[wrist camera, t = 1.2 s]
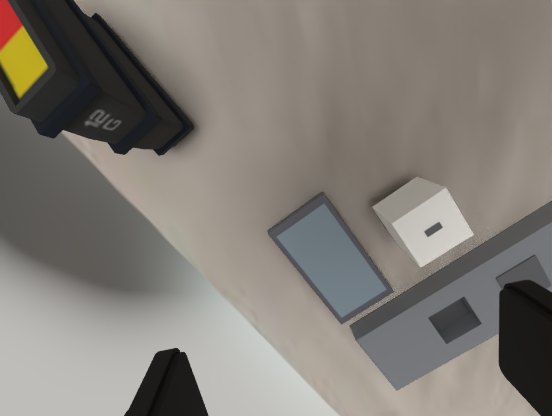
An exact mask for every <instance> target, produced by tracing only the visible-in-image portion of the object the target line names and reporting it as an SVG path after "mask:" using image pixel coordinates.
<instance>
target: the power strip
mask: <svg viewBox="0 0 552 416" xmlns="http://www.w3.org/2000/svg"><path fill="white" fill-rule="evenodd" d="M521 280H532V281H534V282H536V283H537V284H539V285H541V286H542V287H544V288H545V289H547V290H549V291H550V292H552V201H551V202H549V203H548V204H546V205H545V206H543V207H541V208H540V209H538V210H537V211H535V212H533V213H532V214H530V215H528V216H527V217H525V218H524V219H522V220H520V221H519V222H517V223H515V224H514V225H512V226H511V227H509V228H507V229H506V230H504V231H503V232H501V233H499V234H498V235H496V236H494V237H493V238H491V239H490V240H488V241H486V242H485V243H483V244H481V245H480V246H478V247H477V248H475V249H473V250H472V251H470V252H469V253H467V254H465V255H464V256H462V257H460V258H459V259H457V260H456V261H454V262H452V263H451V264H449V265H447V266H446V267H444V268H443V269H441V270H439V271H438V272H436V273H434V274H433V275H431V276H430V277H428V278H426V279H425V280H423V281H422V282H420V283H418V284H417V285H415V286H413V287H412V288H410V289H409V290H407V291H405V292H404V293H402V294H400V295H399V296H397V297H396V298H394V299H392V300H391V301H389V302H388V303H386V304H384V305H383V306H381V307H379V308H378V309H376V310H375V311H373V312H371V313H370V314H368V315H366V316H365V317H363V318H362V319H360V320H358V321H357V322H355V323H354V324H352V325H350V327H351V329H352V332H353V334H354V337H355V339H356V341H357V342H358V344H359V345H360V346H361V347H362V349H363V350H364V351H365V352H366V354H367V355H368V356H369V357H370V359H371V360H372V361H373V362H374V363H375V365H376V366H377V367H378V368H379V370H380V371H381V372H382V373H383V375H384V376H385V377H386V378H387V380H388V381H389V382H390V383H391V384H392V386H393V387H394V388H395V389H396V391H397V390H399V389H401V388H402V387H404V386H406V385H408V384H409V383H411V382H413V381H415V380H417V379H418V378H420V377H422V376H424V375H425V374H427V373H429V372H431V371H433V370H434V369H436V368H438V367H440V366H441V365H443V364H445V363H447V362H449V361H450V360H452V359H454V358H456V357H457V356H459V355H461V354H463V353H465V352H466V351H468V350H470V349H472V348H473V347H475V346H477V345H479V344H481V343H482V342H484V341H486V340H488V339H489V338H491V337H493V336H495V335H497V334H498V333H499V293H500V291H501V290H503V288H504V285H505V284H507V283H511V282H516V281H521Z"/></svg>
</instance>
